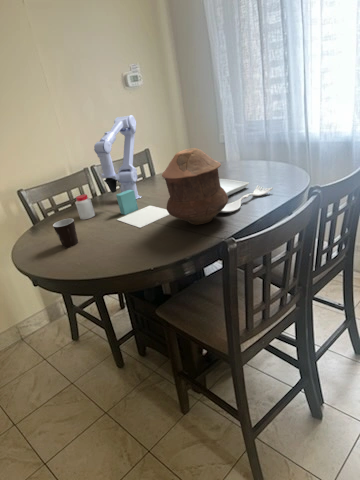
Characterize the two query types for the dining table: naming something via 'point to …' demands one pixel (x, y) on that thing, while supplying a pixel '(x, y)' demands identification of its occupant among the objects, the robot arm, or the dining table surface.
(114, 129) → the robot arm
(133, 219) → the mat
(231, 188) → the square plate
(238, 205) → the spoon
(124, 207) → the teal slab
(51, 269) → the dining table surface
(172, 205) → the pottery vessel
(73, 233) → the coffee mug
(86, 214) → the pill bottle
